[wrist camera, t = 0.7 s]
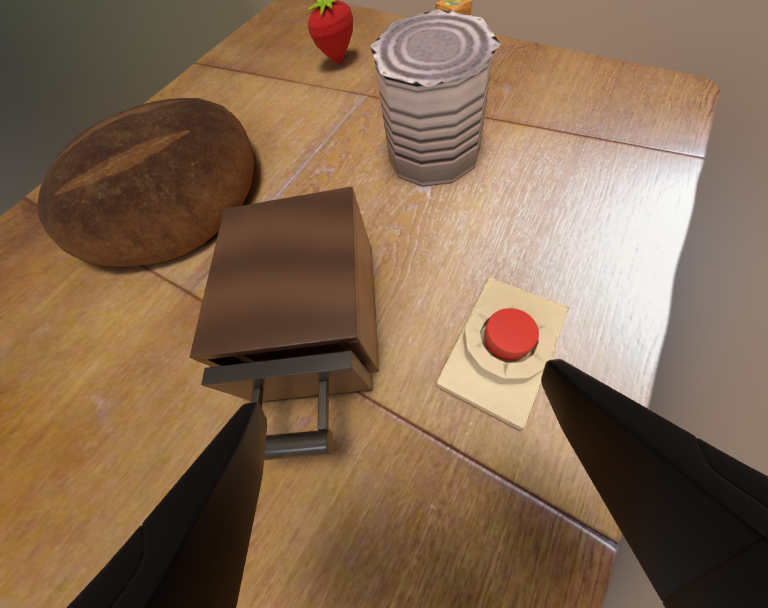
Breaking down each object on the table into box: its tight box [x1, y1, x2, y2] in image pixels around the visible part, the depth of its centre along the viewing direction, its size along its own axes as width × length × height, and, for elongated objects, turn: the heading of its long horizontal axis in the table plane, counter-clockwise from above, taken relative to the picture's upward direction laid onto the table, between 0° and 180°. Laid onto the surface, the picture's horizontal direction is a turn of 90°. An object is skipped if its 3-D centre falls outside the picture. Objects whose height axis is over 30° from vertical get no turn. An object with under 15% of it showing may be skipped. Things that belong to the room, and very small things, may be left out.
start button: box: [484, 308, 539, 360], centre depth 23 cm, size 4×4×2 cm
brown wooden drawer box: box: [190, 187, 379, 373], centre depth 27 cm, size 14×12×9 cm
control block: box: [436, 278, 569, 430], centre depth 25 cm, size 11×7×3 cm, turn 150°
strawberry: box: [308, 0, 353, 64], centre depth 48 cm, size 6×8×10 cm
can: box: [370, 9, 500, 186], centre depth 33 cm, size 11×11×12 cm
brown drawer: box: [201, 342, 372, 460], centre depth 25 cm, size 17×10×7 cm, turn 4°
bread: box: [38, 98, 254, 267], centre depth 39 cm, size 28×27×9 cm
